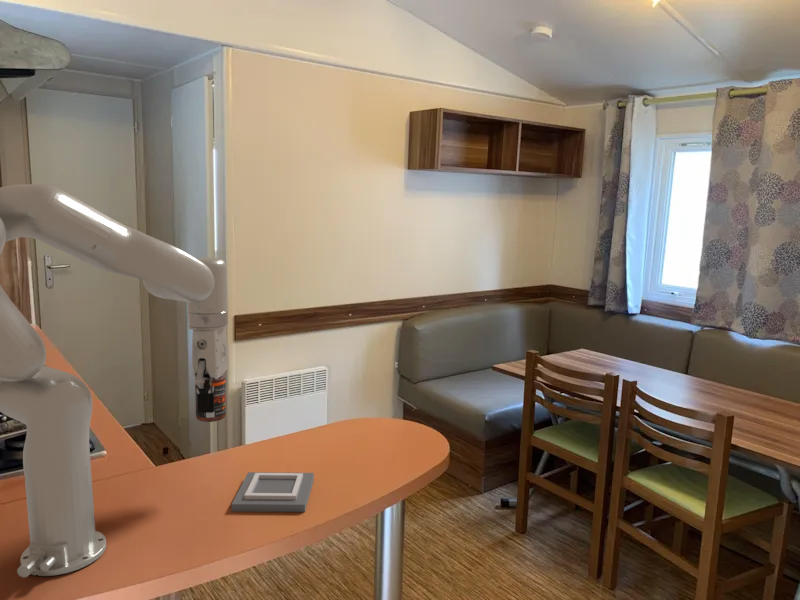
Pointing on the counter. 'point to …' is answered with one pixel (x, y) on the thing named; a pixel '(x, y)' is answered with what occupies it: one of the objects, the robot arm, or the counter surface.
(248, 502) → the socket plate
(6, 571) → the counter surface
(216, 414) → the supplement bottle
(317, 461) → the counter surface
